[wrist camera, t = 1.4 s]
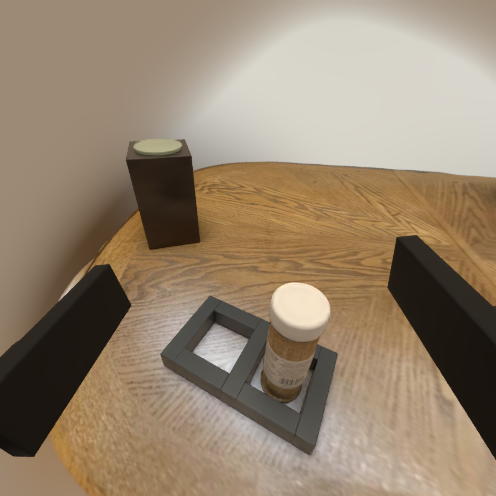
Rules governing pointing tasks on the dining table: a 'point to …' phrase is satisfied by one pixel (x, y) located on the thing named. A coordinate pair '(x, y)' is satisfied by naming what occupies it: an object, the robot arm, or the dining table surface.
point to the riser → (165, 196)
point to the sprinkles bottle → (292, 338)
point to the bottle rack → (250, 374)
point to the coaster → (157, 147)
